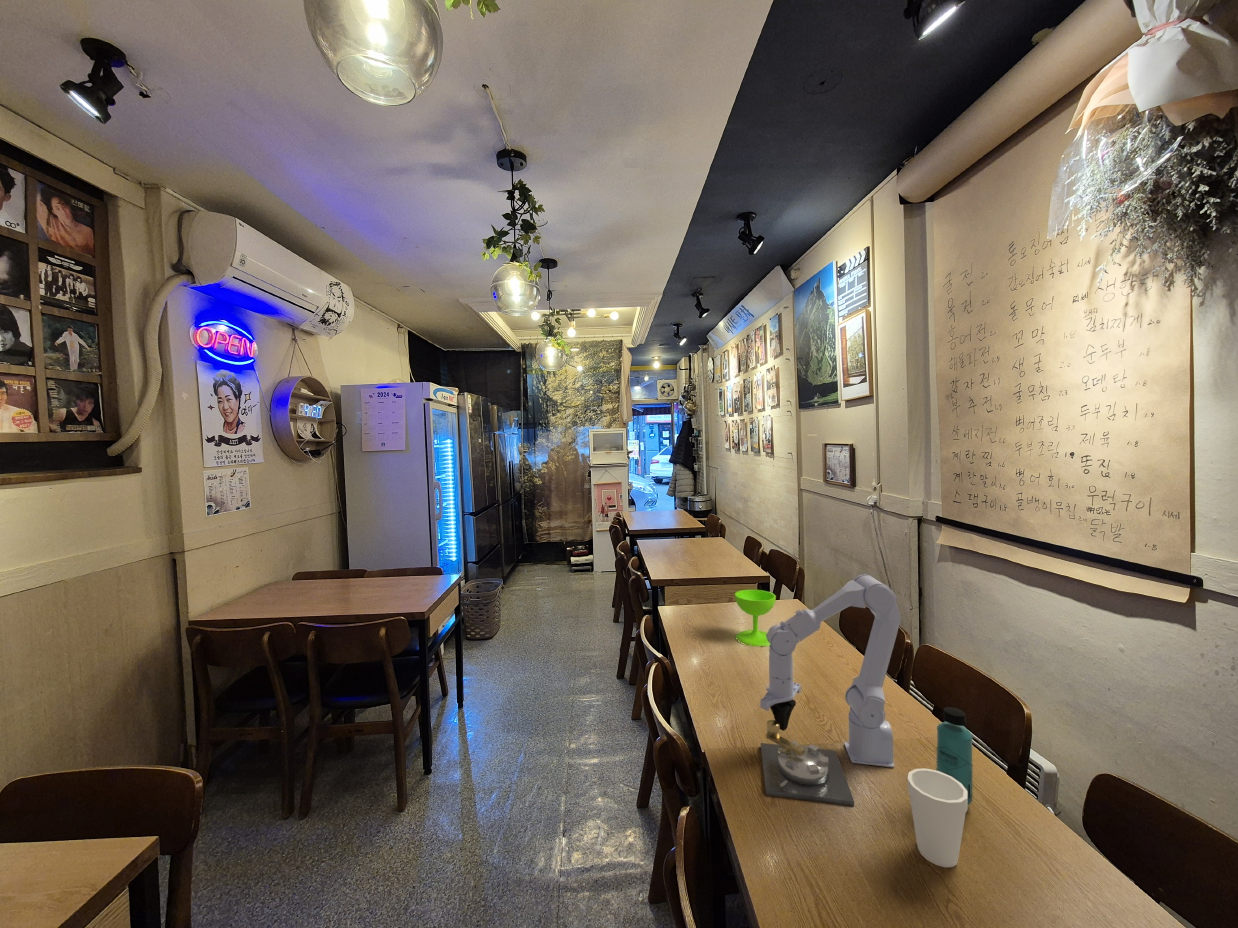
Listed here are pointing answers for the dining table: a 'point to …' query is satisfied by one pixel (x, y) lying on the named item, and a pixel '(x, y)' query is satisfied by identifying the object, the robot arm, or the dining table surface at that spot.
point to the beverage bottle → (955, 748)
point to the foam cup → (937, 814)
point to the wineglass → (754, 614)
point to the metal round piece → (798, 758)
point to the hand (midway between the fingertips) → (781, 728)
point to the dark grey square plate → (782, 786)
